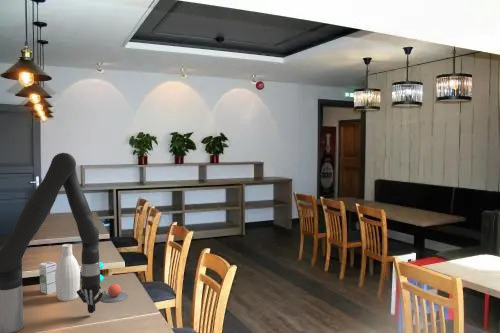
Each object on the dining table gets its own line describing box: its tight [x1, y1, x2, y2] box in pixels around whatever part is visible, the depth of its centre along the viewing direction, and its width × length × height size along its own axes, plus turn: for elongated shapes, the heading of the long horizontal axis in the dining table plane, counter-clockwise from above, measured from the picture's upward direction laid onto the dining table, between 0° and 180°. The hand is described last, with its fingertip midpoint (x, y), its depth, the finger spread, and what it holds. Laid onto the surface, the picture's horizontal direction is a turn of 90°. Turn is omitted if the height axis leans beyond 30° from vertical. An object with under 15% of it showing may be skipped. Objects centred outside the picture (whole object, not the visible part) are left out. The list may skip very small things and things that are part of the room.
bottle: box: [55, 243, 81, 302], centre depth 201 cm, size 11×11×25 cm
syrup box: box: [38, 260, 57, 295], centre depth 209 cm, size 6×6×14 cm
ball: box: [107, 283, 122, 297], centre depth 204 cm, size 6×6×6 cm
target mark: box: [99, 291, 129, 304], centre depth 203 cm, size 13×13×1 cm
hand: (91, 312), depth 182 cm, fingers closed
